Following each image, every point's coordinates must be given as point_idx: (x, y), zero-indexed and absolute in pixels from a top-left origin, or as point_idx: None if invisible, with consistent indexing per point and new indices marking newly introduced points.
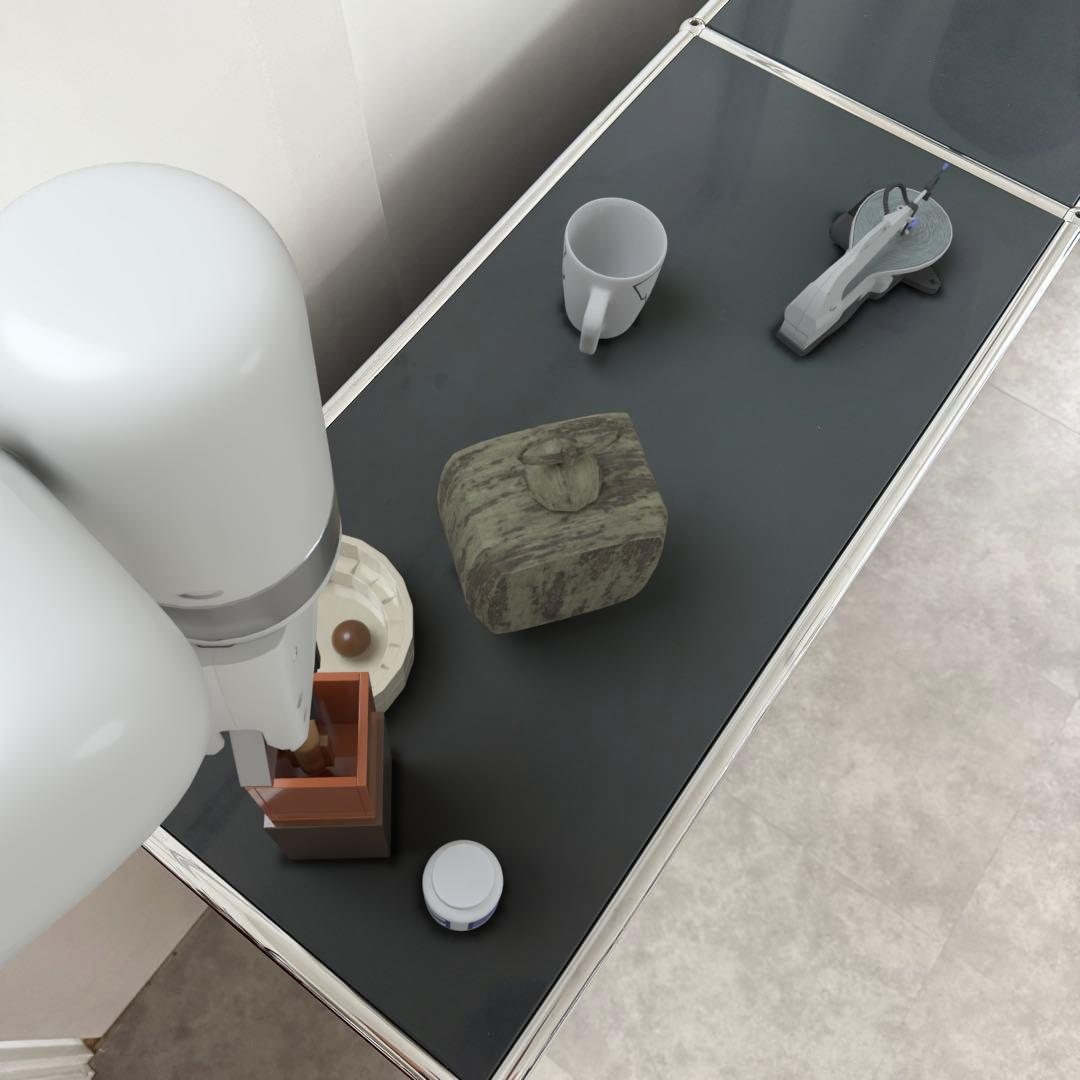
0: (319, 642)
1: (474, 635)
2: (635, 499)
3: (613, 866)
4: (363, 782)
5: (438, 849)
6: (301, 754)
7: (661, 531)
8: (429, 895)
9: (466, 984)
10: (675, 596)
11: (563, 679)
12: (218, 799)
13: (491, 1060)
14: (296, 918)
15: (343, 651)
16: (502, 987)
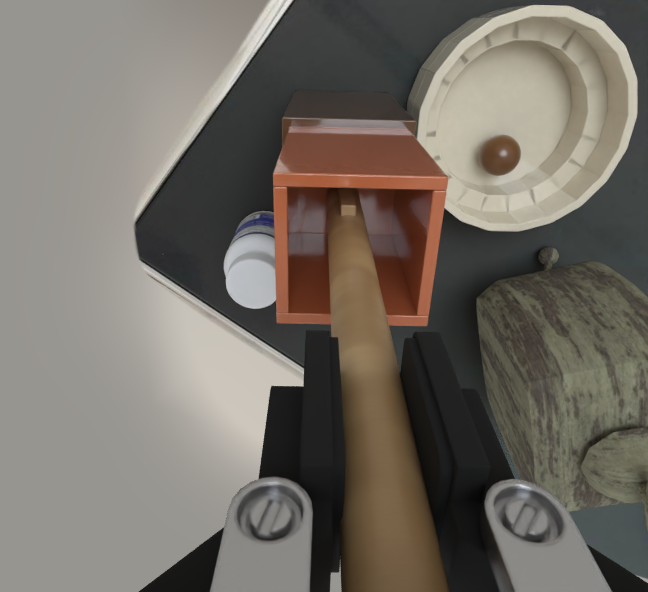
0: (503, 117)
1: (482, 256)
2: (577, 501)
3: (284, 343)
4: (280, 321)
5: None
6: (328, 231)
7: None
8: (244, 243)
9: (196, 239)
10: (485, 399)
11: (431, 320)
12: (356, 11)
13: (144, 255)
14: (243, 97)
15: (488, 150)
16: (196, 265)
